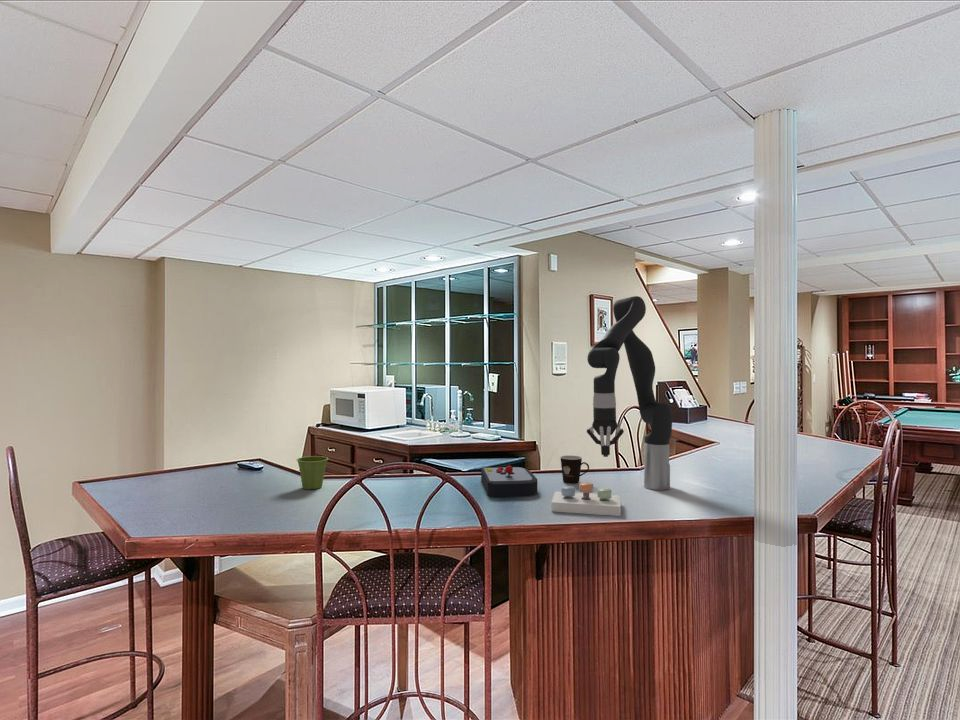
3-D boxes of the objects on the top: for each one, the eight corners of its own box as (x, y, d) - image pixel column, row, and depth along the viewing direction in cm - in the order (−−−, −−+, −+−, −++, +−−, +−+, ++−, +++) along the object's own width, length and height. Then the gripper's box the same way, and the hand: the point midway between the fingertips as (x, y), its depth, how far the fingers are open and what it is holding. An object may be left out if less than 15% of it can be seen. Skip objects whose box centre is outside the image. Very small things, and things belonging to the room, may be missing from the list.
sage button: (611, 505, 178) (611, 488, 178) (611, 508, 173) (611, 491, 173) (597, 504, 179) (597, 487, 179) (597, 507, 174) (597, 491, 174)
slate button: (575, 502, 181) (575, 486, 180) (574, 506, 176) (574, 489, 176) (561, 501, 182) (561, 485, 181) (560, 505, 177) (560, 489, 177)
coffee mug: (556, 480, 215) (556, 456, 215) (573, 478, 219) (573, 454, 219) (572, 487, 205) (572, 461, 205) (590, 484, 208) (590, 459, 208)
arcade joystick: (541, 497, 191) (541, 470, 191) (488, 499, 189) (488, 471, 189) (526, 479, 219) (526, 455, 219) (480, 480, 217) (480, 456, 217)
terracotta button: (593, 499, 179) (593, 482, 179) (593, 503, 175) (593, 486, 175) (579, 498, 180) (579, 482, 180) (578, 502, 176) (579, 485, 176)
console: (619, 503, 182) (619, 495, 182) (620, 515, 168) (620, 506, 168) (555, 499, 187) (555, 491, 187) (551, 511, 173) (551, 502, 173)
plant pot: (323, 491, 198) (323, 461, 197) (291, 491, 198) (291, 461, 198) (332, 484, 209) (332, 455, 209) (302, 483, 210) (302, 455, 210)
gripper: (623, 404, 182) (624, 454, 183) (584, 404, 185) (585, 454, 185) (625, 407, 175) (626, 459, 175) (584, 407, 177) (585, 458, 178)
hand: (605, 456), depth 180 cm, fingers closed
